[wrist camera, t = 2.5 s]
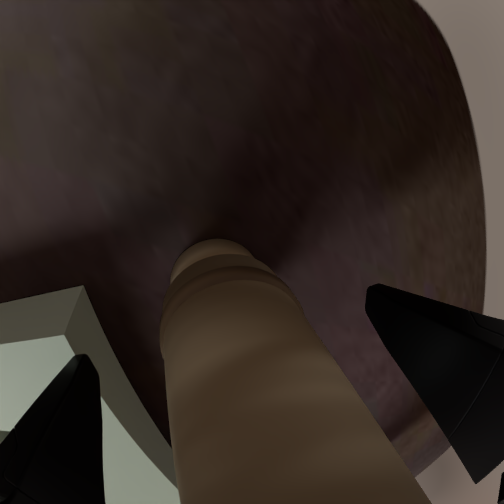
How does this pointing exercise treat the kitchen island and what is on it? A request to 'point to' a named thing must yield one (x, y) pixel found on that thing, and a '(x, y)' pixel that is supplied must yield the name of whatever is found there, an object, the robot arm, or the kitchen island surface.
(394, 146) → the kitchen island surface
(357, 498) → the wooden peg
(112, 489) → the socket plate
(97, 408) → the robot arm
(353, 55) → the kitchen island surface
